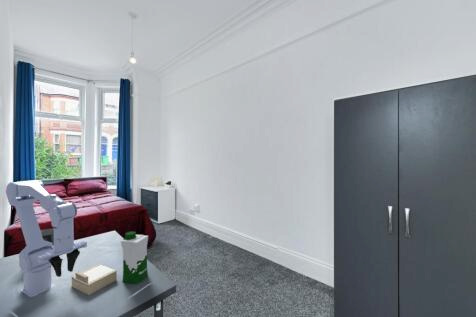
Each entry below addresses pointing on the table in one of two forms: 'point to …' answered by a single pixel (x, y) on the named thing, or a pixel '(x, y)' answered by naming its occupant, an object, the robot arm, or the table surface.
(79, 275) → the lid
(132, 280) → the milk carton
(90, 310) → the table surface
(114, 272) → the box
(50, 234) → the tampon box
